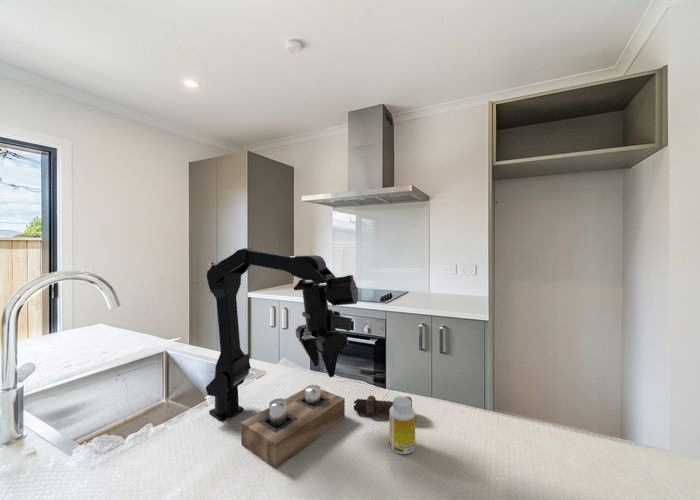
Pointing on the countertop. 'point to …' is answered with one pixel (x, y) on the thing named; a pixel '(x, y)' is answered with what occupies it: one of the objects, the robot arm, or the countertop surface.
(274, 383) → the countertop surface
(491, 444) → the countertop surface
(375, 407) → the bolt
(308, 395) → the peg short
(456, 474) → the countertop surface
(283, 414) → the peg tall
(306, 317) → the robot arm
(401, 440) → the supplement bottle
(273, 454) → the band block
